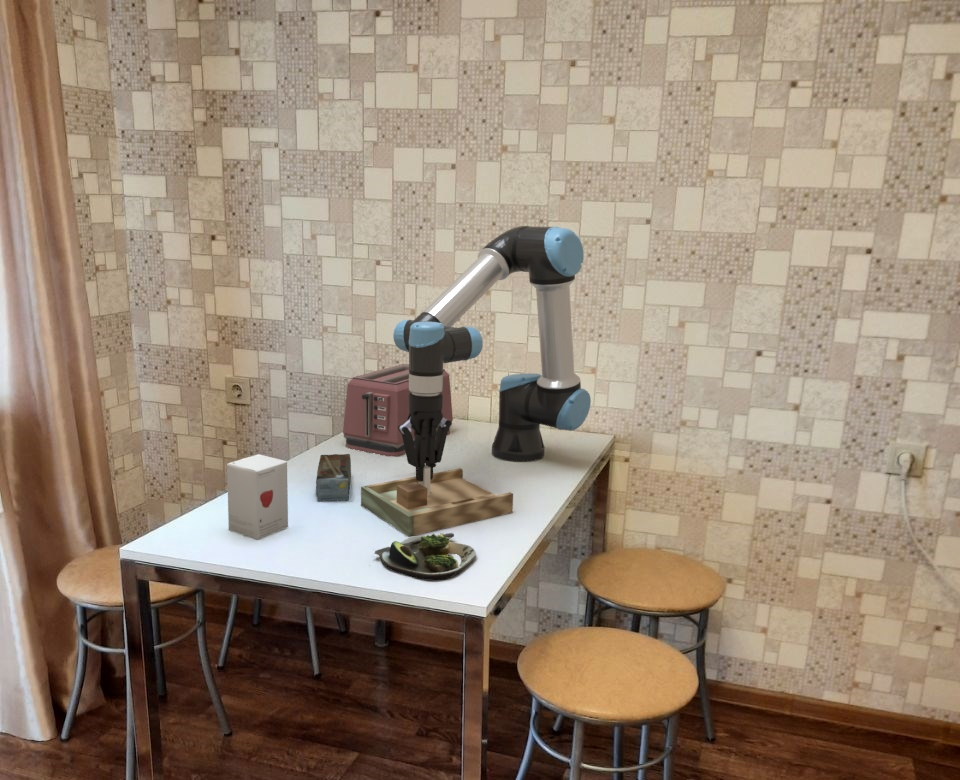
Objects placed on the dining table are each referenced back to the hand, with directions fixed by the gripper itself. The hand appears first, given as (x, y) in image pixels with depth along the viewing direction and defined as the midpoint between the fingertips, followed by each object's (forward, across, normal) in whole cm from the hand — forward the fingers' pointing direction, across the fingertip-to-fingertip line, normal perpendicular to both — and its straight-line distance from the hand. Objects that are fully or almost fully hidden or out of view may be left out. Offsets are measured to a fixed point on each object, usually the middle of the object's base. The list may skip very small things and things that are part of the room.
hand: (424, 493), depth 184 cm
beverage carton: (+5, +10, -25) cm, 27 cm away
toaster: (+5, -24, -54) cm, 59 cm away
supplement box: (+5, +35, -9) cm, 37 cm away
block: (+2, +3, 0) cm, 4 cm away
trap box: (+4, -3, 0) cm, 5 cm away
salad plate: (+5, +13, +23) cm, 27 cm away
